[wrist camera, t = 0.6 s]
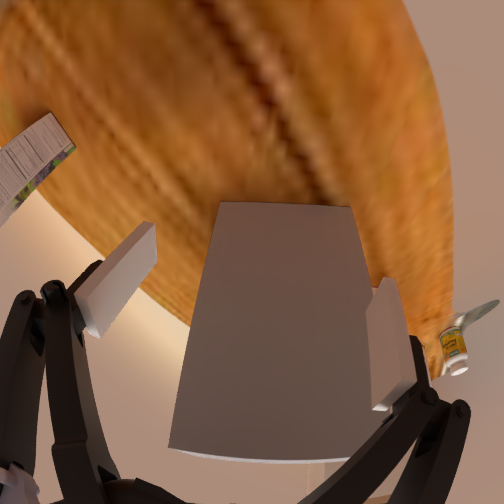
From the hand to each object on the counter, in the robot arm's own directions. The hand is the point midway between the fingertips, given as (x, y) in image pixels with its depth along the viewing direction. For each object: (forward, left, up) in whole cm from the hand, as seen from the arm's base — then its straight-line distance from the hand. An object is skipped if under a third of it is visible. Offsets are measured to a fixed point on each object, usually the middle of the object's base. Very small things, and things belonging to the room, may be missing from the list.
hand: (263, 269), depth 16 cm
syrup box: (-3, -25, -15) cm, 29 cm away
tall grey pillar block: (+11, +2, -14) cm, 18 cm away
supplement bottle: (+36, +40, -15) cm, 56 cm away
